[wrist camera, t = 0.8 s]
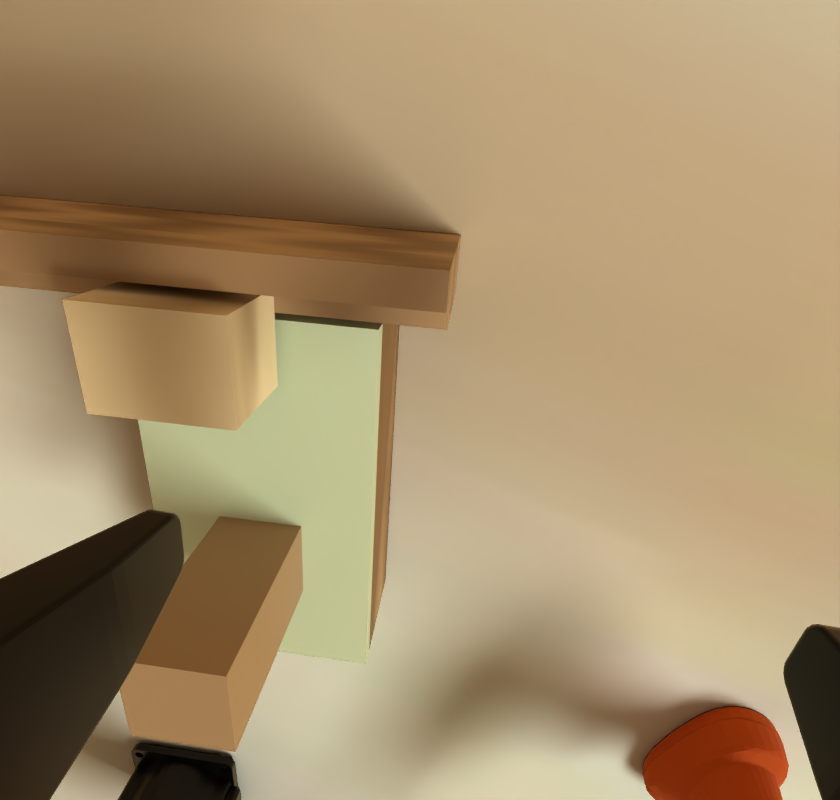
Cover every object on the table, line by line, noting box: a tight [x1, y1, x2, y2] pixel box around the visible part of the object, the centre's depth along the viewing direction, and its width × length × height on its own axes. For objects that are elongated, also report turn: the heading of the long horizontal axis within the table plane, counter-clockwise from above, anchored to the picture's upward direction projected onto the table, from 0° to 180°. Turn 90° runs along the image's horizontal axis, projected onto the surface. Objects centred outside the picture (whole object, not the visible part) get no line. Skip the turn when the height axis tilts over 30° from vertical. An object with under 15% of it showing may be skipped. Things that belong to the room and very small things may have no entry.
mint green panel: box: [120, 313, 383, 752], centre depth 16 cm, size 8×14×8 cm, turn 176°
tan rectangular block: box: [62, 281, 278, 431], centre depth 14 cm, size 4×3×3 cm
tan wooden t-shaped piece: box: [0, 195, 461, 648], centre depth 19 cm, size 18×16×7 cm
